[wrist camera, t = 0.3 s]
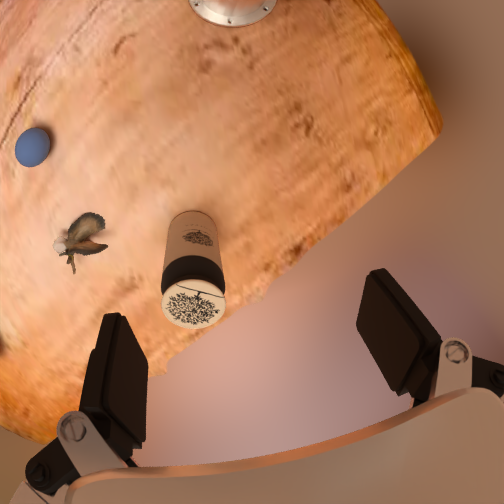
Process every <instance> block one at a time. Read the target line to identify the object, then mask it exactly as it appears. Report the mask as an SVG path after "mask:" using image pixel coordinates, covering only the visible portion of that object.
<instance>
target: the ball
mask: <svg viewBox="0 0 504 504" xmlns="http://www.w3.org/2000/svg"><path fill="white" fill-rule="evenodd" d="M49 149H50V140H49V137H48V135H47V133H46V132H45V131H44V130H42V129H40V128H30V129H28V130H26V131H24V132H23V133H22V134H21V135H20V137H19V138H18V140H17V142H16V146H15V155H16V158H17V160H18V161H19V163H20V164H22V165H23V166H26V167H34V166H37V165H39V164H40V163H42V162H43V161H44V160H45V158H46V157H47V155H48V153H49Z"/></svg>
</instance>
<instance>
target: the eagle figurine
mask: <svg viewBox="0 0 504 504" xmlns="http://www.w3.org/2000/svg"><path fill="white" fill-rule="evenodd" d="M104 221H105V219H103V217H102V216H100V215H99V214H96V215H95V213H87V214H84V215H82V216H81V217H80V218H79V219H78V220H77V221H76V222H74V224H72V225H71V226H70V228H69V229H68V230H69V231H68V240H67V239H66V238H64V237H62V236H59V237H58V238H57V239H56V240H55V241H54V243H53V248H54V250H55V251H56V252H57V253H61V254H59V256H62V255H68V256H69V257H68V260H67V264H69V263H71V265H72V268H73V273H74V274H75V271H76V269H75V264H74V257H73V255H74V253H80V254H83V255H84V256H85V255H86V256H87V255H90V254H96V253H99V252H101V251H103V250H105V249H106V248H108V245H107V244H97V243H94V242H91V241H85V239H86V238H87V237H88V236H90V235H91V234H93V233H94V232H97V231H100V230H103V229H104V228H105V227H104V226H105V223H104ZM63 251H66V252H63ZM62 252H63V253H62Z"/></svg>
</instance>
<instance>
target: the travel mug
mask: <svg viewBox="0 0 504 504" xmlns="http://www.w3.org/2000/svg"><path fill="white" fill-rule="evenodd" d="M161 292H162V295H163V297H162V301H161V307H162V311H163V313H164V315H165V316H166V317H167V319H168V320H169V321H171V322H172V323H174V324H175V325H178V326H180V327H183V328H189V329H198V328H204V327H207V326H210V325H212V324H214V323H215V322H217V321H218V320H219V319H220V318H221V317H222V315H223V314H224V311H225V308H226V300H225V297H224V293H225V281H224V275H223V269H222V263H221V256H220V250H219V243H218V237H217V230H216V226H215V224H214V222H213V221H212V219H211V218H210V217H208V216H207V215H205V214H203V213H201V212H196V211H190V212H185V213H182V214H180V215H178V216H177V217H176V218H175V219H174V220H173V221H172V222H171V224H170V227H169V231H168V238H167V244H166V251H165V258H164V266H163V273H162V282H161Z"/></svg>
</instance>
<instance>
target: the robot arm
mask: <svg viewBox="0 0 504 504" xmlns="http://www.w3.org/2000/svg"><path fill="white" fill-rule="evenodd" d="M188 1H189V3H190V6H191V7H192V9H193V10H194V12H195V13H196V14H197V15H198V16H199V17H201V18H202V19H204V20H205V21H207V22H209V23H212V24H214V25H218V26H222V27H231V28H232V27H243V26H248V25H251V24H253V23H256V22H258V21H260V20H261V19H263V18H264V17H265V16H267V15H268V14H269V13H270V12H271V11H272V9H273V7H274V6H275V4H276V1H277V0H188ZM196 4H198V5H199V6H195V5H196ZM263 9H266V11H264V10H263ZM228 21H231V24H229V23H228ZM356 326H357V330H358V332H359V333H360V335H361V337H362V338H363V340H364V342H365V344H366V345H367V347H368V349H369V351H370V353H371V354H372V356H373V358H374V360H375V361H376V363H377V365H378V367H379V368H380V370H381V372H382V374H383V376H384V378H385V379H386V381H387V383H388V385H389V387H390V389H391V390H392V391H395V392H396V393H397V395H398V396H401V395H403V394H405V393H407V392H409V393H410V395H411V401H410V405H409V409H408V410H407V411H405V412H403V413H400V414H398V415H396V416H394V417H391V418H389V419H386V420H384V421H381V422H379V423H377V424H374V425H371V426H368V427H366V428H363V429H361V430H357V431H354V432H352V433H349V434H346V435H343V436H340V437H336V438H333V439H330V440H327V441H323V442H320V443H316V444H313V445H309V446H306V447H301V448H297V449H293V450H289V451H285V452H280V453H275V454H271V455H265V456H260V457H254V458H248V459H242V460H235V461H228V462H220V463H210V464H199V465H186V466H167V467H140V466H139V464H138V463H137V462H136V461H135V460H134V459H133V458H132V455H133V449H142V442H145V440H146V403H147V381H148V362H147V359H146V357H145V355H144V353H143V351H142V349H141V347H140V345H139V343H138V341H137V339H136V337H135V335H134V333H133V331H132V329H131V327H130V325H129V323H128V321H127V319H126V317H125V316H121V314H120V313H119V312H117V313H108V314H105V315H104V316H103V320H102V323H101V327H100V331H99V335H98V339H97V343H96V347H95V349H93V350H92V351H91V354H90V357H89V362H88V366H87V370H86V375H85V380H84V384H83V389H82V395H81V400H80V406H79V411H70V412H68V413H66V414H64V415H63V416H62V417H61V418H60V420H59V422H58V424H57V436H58V437H57V438H55V439H54V440H53V441H52V442H51V443H49V444H48V445H47V446H46V447H45V448H43V449H42V450H41V451H40V452H39V453H37V454H36V455H35V456H34V457H33V458H31V459H30V460H29V462H28V463H27V465H26V470H25V474H26V479H27V480H26V482H25V481H22V482H21V484H20V486H19V487H18V489H17V491H16V492H15V494H14V496H13V497H12V499H11V501H10V503H9V504H504V366H503V365H501V364H499V363H495V362H492V361H488V360H485V359H482V358H478V357H475V356H472V352H471V349H470V347H469V346H468V345H467V343H466V342H464V341H463V340H461V339H458V338H453V337H452V338H448V339H446V340H444V341H442V340H441V336H440V335H439V334H438V332H437V331H436V330H435V328H434V327H433V326H432V325H431V323H430V322H429V321H428V319H427V318H426V317H425V316H424V314H423V313H422V312H421V311H420V310H419V308H418V307H417V306H416V304H415V303H414V302H413V301H412V299H411V298H410V297H409V296H408V295H407V293H406V292H405V291H404V290H403V289H402V287H401V286H400V285H399V284H398V283H397V282H396V280H395V279H394V278H393V277H392V276H391V275H390V273H389V272H388V271H387V270H386V269H385V268H382V269H377V270H373V271H371V272H370V274H369V275H367V277H366V281H365V286H364V290H363V295H362V300H361V304H360V308H359V313H358V317H357V321H356Z"/></svg>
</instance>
